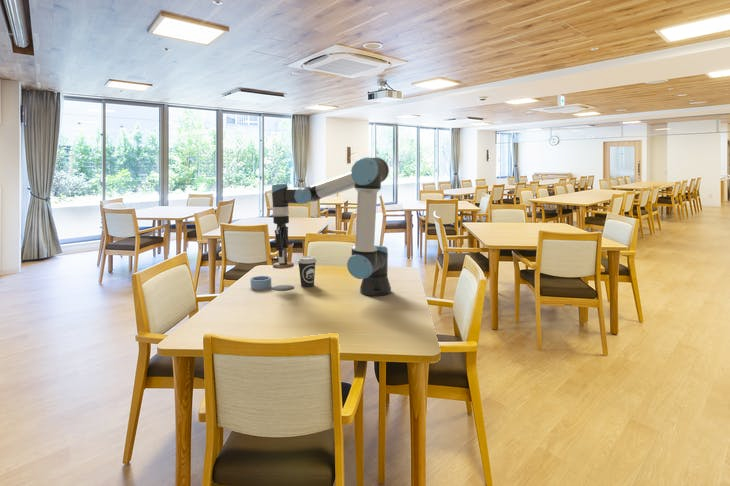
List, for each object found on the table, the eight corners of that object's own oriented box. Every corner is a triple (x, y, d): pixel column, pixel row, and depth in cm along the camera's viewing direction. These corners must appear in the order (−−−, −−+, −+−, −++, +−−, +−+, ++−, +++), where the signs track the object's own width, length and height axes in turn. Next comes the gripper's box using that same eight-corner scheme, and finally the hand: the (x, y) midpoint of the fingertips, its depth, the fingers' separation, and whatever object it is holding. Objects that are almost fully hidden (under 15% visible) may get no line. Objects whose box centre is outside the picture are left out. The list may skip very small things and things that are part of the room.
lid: (298, 265, 235) (297, 247, 233) (282, 269, 227) (281, 250, 225) (284, 263, 241) (283, 245, 240) (268, 267, 233) (267, 248, 232)
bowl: (275, 287, 238) (274, 277, 238) (259, 291, 231) (259, 281, 230) (262, 284, 245) (262, 275, 244) (246, 288, 237) (246, 278, 236)
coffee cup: (318, 284, 245) (318, 255, 243) (314, 288, 236) (314, 259, 233) (300, 283, 246) (299, 255, 244) (296, 288, 237) (295, 259, 234)
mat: (299, 288, 237) (299, 287, 237) (282, 293, 228) (282, 292, 228) (284, 284, 244) (284, 283, 244) (267, 289, 235) (267, 288, 235)
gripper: (279, 213, 239) (281, 258, 243) (267, 217, 222) (270, 265, 226) (293, 213, 238) (295, 258, 241) (282, 217, 221) (284, 265, 225)
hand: (283, 262), depth 234 cm, fingers closed on lid, 4 cm apart
